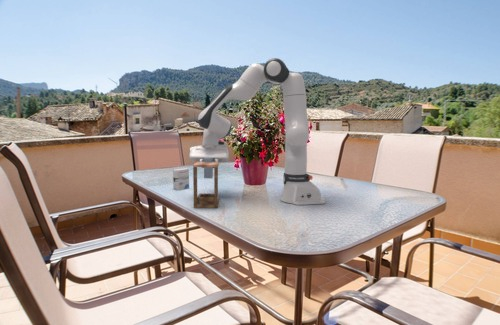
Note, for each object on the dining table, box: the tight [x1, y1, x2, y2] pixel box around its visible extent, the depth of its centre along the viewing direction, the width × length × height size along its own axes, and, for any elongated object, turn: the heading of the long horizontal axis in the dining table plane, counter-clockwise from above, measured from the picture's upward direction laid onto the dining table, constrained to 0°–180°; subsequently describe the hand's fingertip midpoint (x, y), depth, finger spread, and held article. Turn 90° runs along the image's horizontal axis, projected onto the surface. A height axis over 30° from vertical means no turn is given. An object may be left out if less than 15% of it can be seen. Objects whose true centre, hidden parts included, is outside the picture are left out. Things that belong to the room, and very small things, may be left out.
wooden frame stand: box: [192, 162, 221, 209], centre depth 143 cm, size 11×14×20 cm
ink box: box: [172, 167, 190, 191], centre depth 177 cm, size 8×5×12 cm, turn 144°
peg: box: [203, 158, 214, 179], centre depth 150 cm, size 4×4×10 cm
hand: (208, 167), depth 149 cm, fingers closed on peg, 4 cm apart
